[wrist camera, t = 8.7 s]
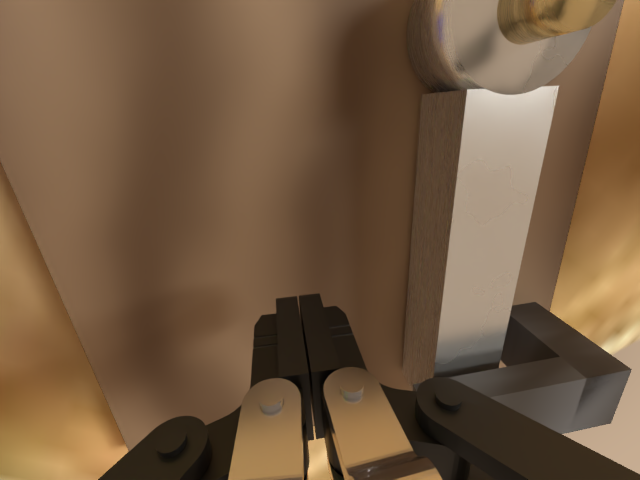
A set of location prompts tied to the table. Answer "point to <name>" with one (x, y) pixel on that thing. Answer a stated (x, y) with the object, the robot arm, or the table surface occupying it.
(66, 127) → the board
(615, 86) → the table surface
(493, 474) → the robot arm
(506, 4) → the link
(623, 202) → the table surface
